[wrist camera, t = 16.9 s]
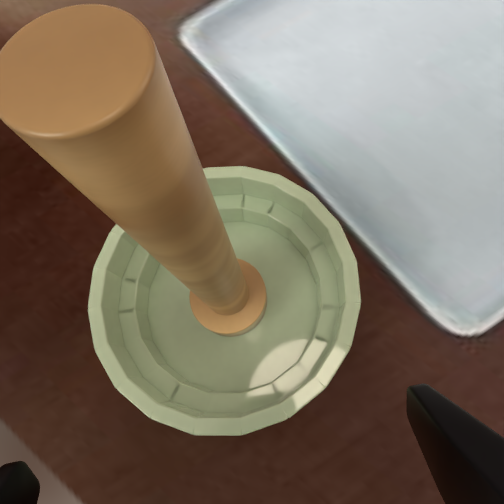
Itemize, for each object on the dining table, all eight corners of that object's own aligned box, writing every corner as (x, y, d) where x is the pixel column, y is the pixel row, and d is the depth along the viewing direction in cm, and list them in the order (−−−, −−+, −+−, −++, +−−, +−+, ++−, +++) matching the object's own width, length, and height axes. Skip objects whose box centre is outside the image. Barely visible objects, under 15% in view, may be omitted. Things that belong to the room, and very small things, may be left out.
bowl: (203, 475, 16) (180, 507, 12) (90, 282, 19) (44, 261, 16) (390, 324, 17) (421, 310, 14) (255, 169, 21) (250, 124, 17)
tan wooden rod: (274, 328, 17) (249, 164, 3) (201, 343, 17) (-103, 235, 4) (259, 259, 18) (201, -68, 5) (191, 273, 18) (-65, -12, 5)
